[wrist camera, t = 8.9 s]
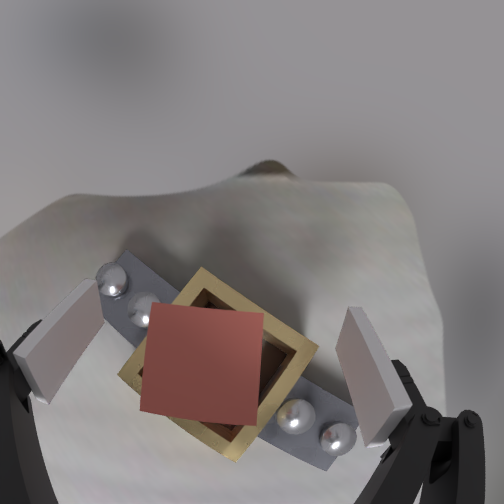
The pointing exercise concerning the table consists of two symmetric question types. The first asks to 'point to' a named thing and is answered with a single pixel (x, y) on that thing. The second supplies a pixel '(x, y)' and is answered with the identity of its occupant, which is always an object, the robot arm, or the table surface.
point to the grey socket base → (272, 396)
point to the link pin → (202, 364)
